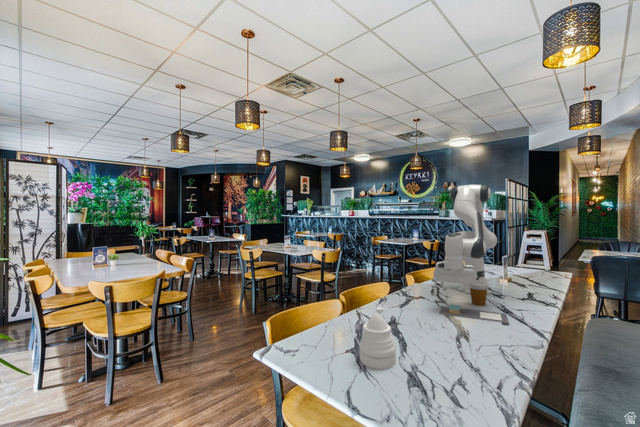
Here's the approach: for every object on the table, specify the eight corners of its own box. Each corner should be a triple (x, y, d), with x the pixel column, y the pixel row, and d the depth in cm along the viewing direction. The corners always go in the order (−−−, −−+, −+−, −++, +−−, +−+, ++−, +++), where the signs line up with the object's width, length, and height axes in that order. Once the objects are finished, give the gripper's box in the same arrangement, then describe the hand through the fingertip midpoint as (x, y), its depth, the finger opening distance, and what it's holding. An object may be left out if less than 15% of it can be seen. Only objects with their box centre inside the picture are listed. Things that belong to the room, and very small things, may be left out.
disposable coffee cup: (483, 303, 170) (483, 282, 169) (491, 308, 160) (491, 286, 160) (466, 302, 170) (465, 281, 170) (473, 308, 161) (472, 286, 161)
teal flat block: (449, 308, 158) (449, 304, 158) (460, 310, 155) (460, 305, 155) (448, 312, 152) (448, 308, 151) (459, 314, 149) (459, 309, 149)
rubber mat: (441, 307, 163) (441, 305, 163) (506, 315, 149) (506, 313, 149) (438, 315, 150) (438, 313, 150) (508, 325, 137) (508, 323, 137)
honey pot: (370, 348, 117) (370, 302, 117) (402, 358, 109) (401, 308, 108) (352, 361, 107) (352, 311, 107) (385, 373, 99) (384, 318, 98)
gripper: (477, 264, 151) (477, 292, 151) (434, 262, 161) (434, 288, 160) (477, 266, 146) (477, 295, 145) (432, 264, 155) (432, 290, 155)
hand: (454, 291), depth 153 cm, fingers open, 8 cm apart
